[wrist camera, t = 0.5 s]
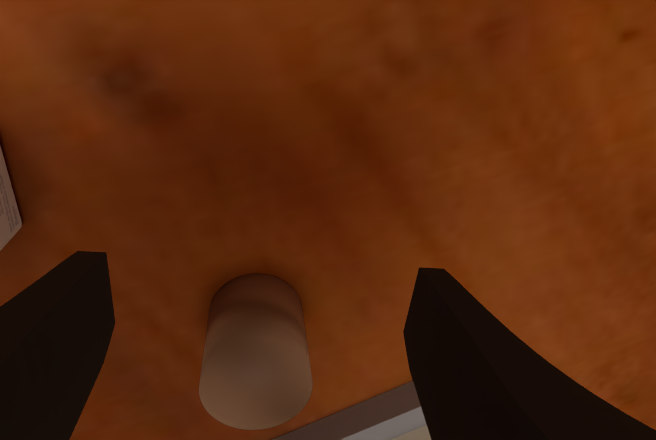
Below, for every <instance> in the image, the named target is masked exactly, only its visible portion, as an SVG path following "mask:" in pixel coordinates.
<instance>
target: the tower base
mask: <svg viewBox="0 0 656 440" xmlns="http://www.w3.org/2000/svg"><path fill="white" fill-rule="evenodd" d="M425 425H427V424H426V421H425V418H424V415H423V412H422V408H421V405H420V402H419V399H418V395H417V392H416V389H415V386H414V382H413V381H411V382H409V383H406V384H404V385H402V386H399V387H397V388H394V389H392V390H390V391H387V392H385V393H382V394H380V395H378V396H375V397H373V398H370V399H368V400H366V401H363V402H361V403H358V404H356V405H354V406H351V407H349V408H346V409H344V410H342V411H339V412H337V413H334V414H332V415H330V416H327V417H325V418H322V419H320V420H318V421H315V422H313V423H310V424H308V425H306V426H303V427H301V428H298V429H296V430H294V431H291V432H289V433H287V434H284V435H282V436H279V437H277V438H275V439H272V440H391V439H393V438H396V437H398V436H401V435H403V434H406V433H408V432H411V431H413V430H415V429H418V428H420V427H423V426H425Z"/></svg>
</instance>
